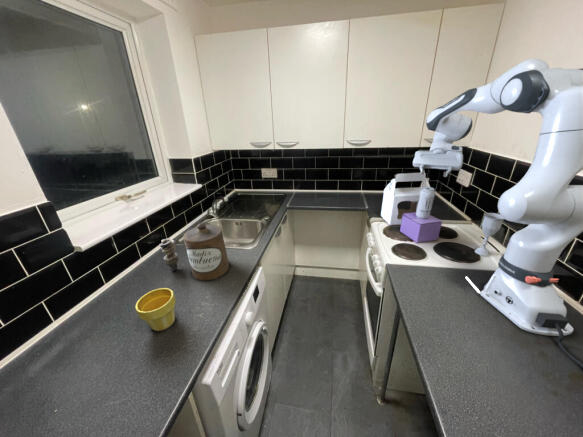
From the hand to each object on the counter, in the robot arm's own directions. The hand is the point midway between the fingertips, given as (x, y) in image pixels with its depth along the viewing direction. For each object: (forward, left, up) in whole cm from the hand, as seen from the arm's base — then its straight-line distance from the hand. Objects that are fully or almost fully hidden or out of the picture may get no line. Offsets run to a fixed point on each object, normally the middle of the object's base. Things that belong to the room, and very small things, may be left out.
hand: (433, 175), depth 108 cm
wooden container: (-35, +100, -32) cm, 110 cm away
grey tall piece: (-36, +116, -32) cm, 125 cm away
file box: (-1, +2, -31) cm, 31 cm away
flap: (-5, +1, -21) cm, 22 cm away
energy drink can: (-1, +2, -21) cm, 21 cm away
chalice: (-17, -19, -32) cm, 41 cm away
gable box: (+19, +3, -32) cm, 37 cm away
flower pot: (-63, +104, -32) cm, 126 cm away
